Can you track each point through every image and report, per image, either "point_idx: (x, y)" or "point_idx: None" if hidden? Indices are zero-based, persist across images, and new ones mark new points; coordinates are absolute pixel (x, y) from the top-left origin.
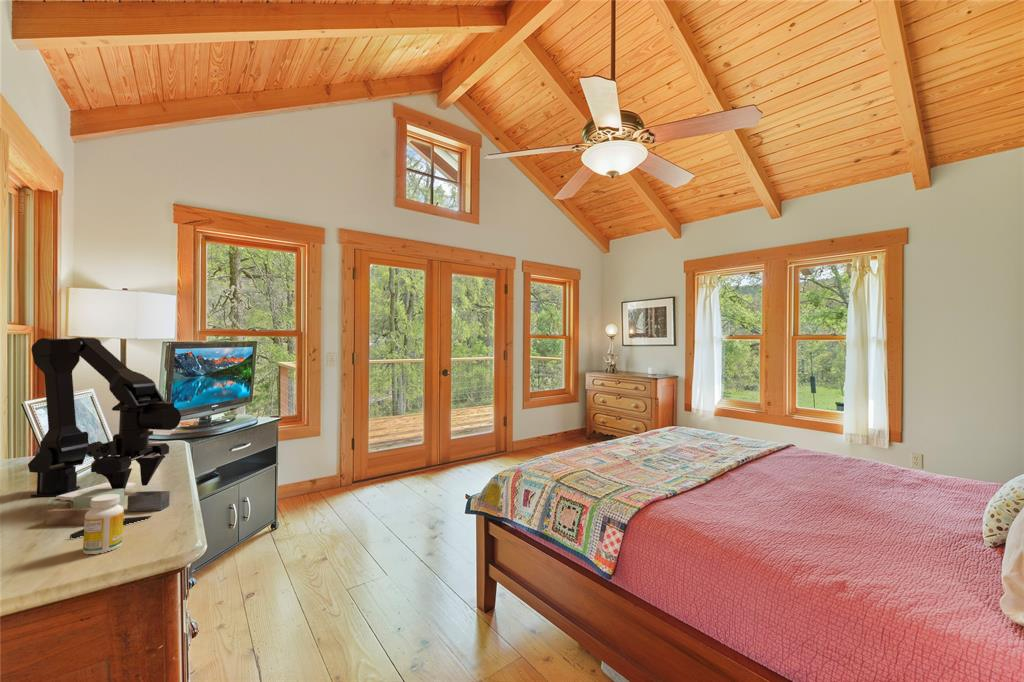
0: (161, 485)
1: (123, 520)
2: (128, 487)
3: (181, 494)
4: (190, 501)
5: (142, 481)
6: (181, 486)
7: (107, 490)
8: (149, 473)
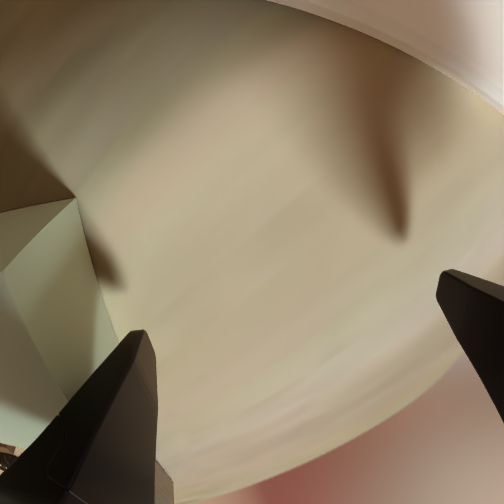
0: (498, 258)
1: (4, 468)
2: (490, 101)
3: (321, 441)
4: (231, 491)
5: (460, 290)
6: (449, 361)
7: (23, 398)
8: (487, 371)
